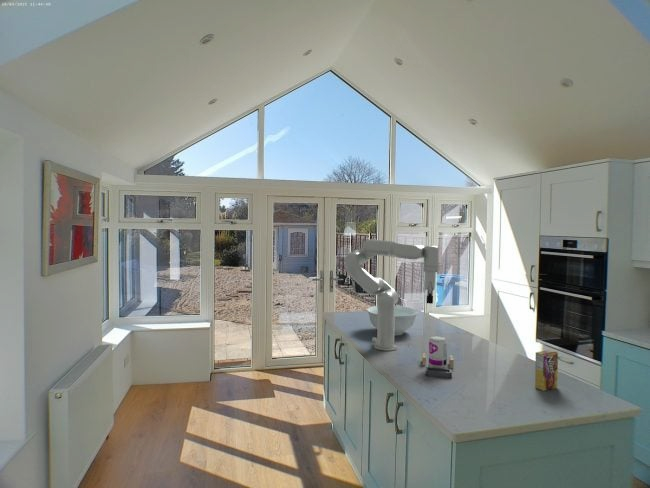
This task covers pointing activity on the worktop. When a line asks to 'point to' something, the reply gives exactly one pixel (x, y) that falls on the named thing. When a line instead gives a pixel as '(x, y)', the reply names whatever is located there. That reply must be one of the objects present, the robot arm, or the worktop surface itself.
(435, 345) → the supplement can
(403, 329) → the bowl
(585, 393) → the worktop surface
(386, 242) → the robot arm
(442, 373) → the pit tray
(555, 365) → the candy box
